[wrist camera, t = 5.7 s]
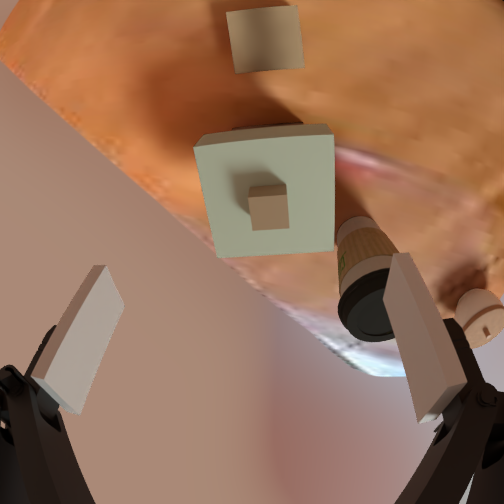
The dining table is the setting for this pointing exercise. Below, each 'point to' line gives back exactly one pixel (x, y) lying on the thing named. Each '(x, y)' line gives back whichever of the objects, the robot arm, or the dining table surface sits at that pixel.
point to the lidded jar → (480, 316)
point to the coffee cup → (364, 279)
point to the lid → (269, 189)
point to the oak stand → (265, 39)
